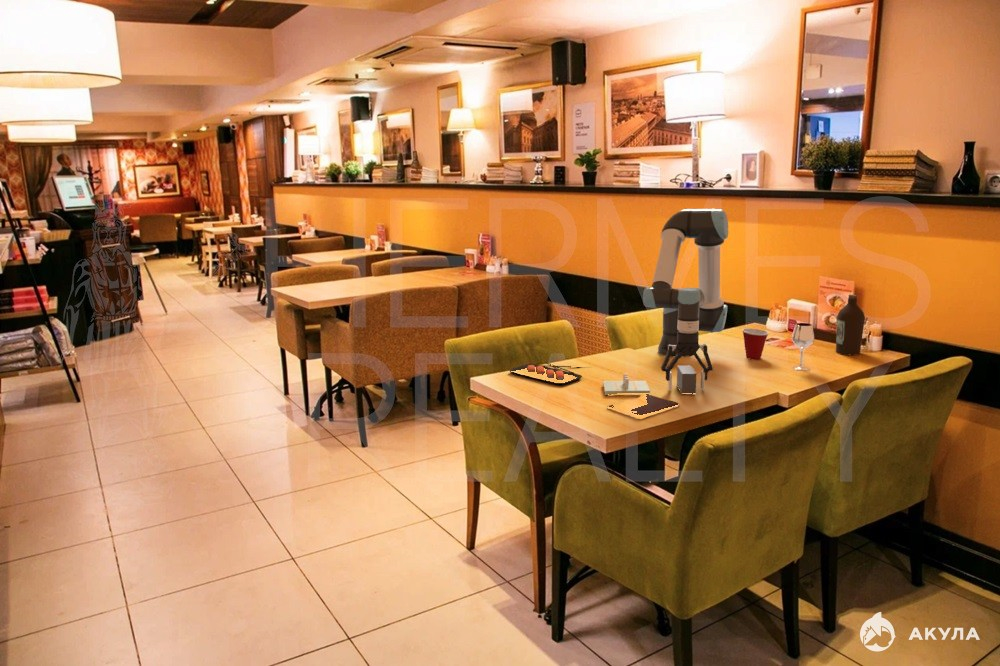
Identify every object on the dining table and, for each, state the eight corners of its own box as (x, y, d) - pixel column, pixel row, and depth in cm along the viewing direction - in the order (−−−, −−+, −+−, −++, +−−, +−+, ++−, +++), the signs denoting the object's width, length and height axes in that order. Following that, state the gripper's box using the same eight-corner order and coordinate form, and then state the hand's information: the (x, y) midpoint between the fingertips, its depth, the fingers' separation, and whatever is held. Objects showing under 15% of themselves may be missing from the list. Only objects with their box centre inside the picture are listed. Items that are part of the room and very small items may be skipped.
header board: (602, 386, 271) (603, 372, 270) (645, 385, 270) (645, 371, 269) (605, 396, 260) (605, 381, 258) (649, 395, 258) (650, 381, 257)
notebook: (607, 410, 247) (607, 404, 246) (645, 397, 258) (646, 392, 258) (639, 421, 235) (639, 416, 235) (678, 408, 247) (679, 402, 246)
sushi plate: (506, 375, 291) (506, 366, 290) (554, 359, 312) (554, 351, 311) (561, 389, 271) (561, 379, 270) (608, 371, 291) (608, 362, 291)
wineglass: (805, 372, 280) (808, 327, 276) (785, 368, 286) (788, 324, 282) (815, 368, 285) (819, 324, 281) (796, 364, 291) (799, 321, 287)
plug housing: (676, 386, 269) (677, 365, 267) (690, 385, 268) (690, 365, 266) (681, 395, 258) (682, 373, 256) (695, 395, 258) (696, 373, 256)
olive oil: (855, 349, 311) (860, 292, 305) (866, 355, 300) (871, 297, 295) (830, 349, 311) (834, 293, 305) (840, 356, 301) (845, 297, 295)
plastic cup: (771, 361, 297) (773, 333, 294) (745, 361, 297) (746, 333, 294) (762, 354, 307) (764, 327, 305) (737, 354, 308) (738, 327, 305)
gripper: (656, 333, 255) (655, 392, 260) (723, 333, 253) (721, 391, 259) (653, 329, 263) (652, 385, 268) (718, 328, 261) (716, 385, 266)
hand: (686, 388), depth 263 cm, fingers open, 11 cm apart
